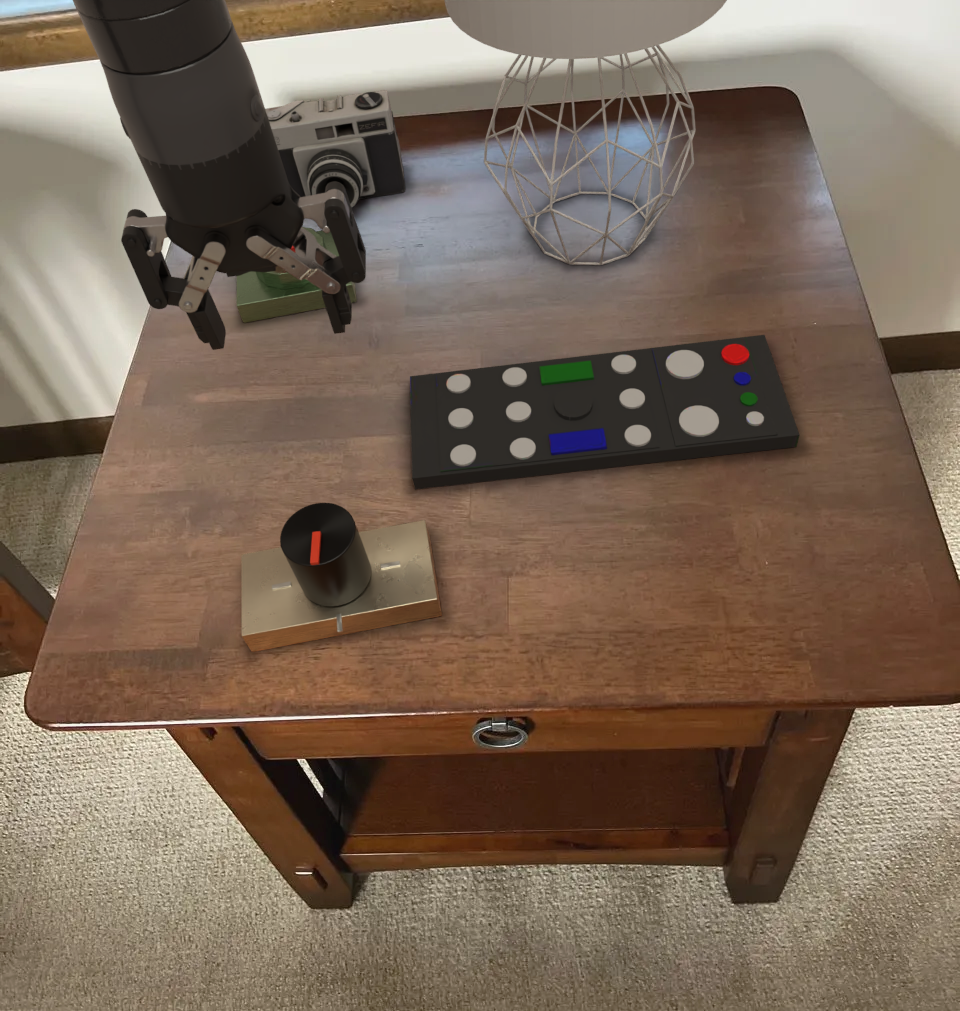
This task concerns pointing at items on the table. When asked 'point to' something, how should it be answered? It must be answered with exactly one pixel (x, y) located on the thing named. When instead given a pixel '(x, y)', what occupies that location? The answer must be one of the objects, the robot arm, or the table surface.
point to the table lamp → (572, 35)
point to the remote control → (598, 412)
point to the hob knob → (326, 554)
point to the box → (282, 290)
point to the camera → (340, 145)
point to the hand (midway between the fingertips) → (279, 333)
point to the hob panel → (385, 602)
